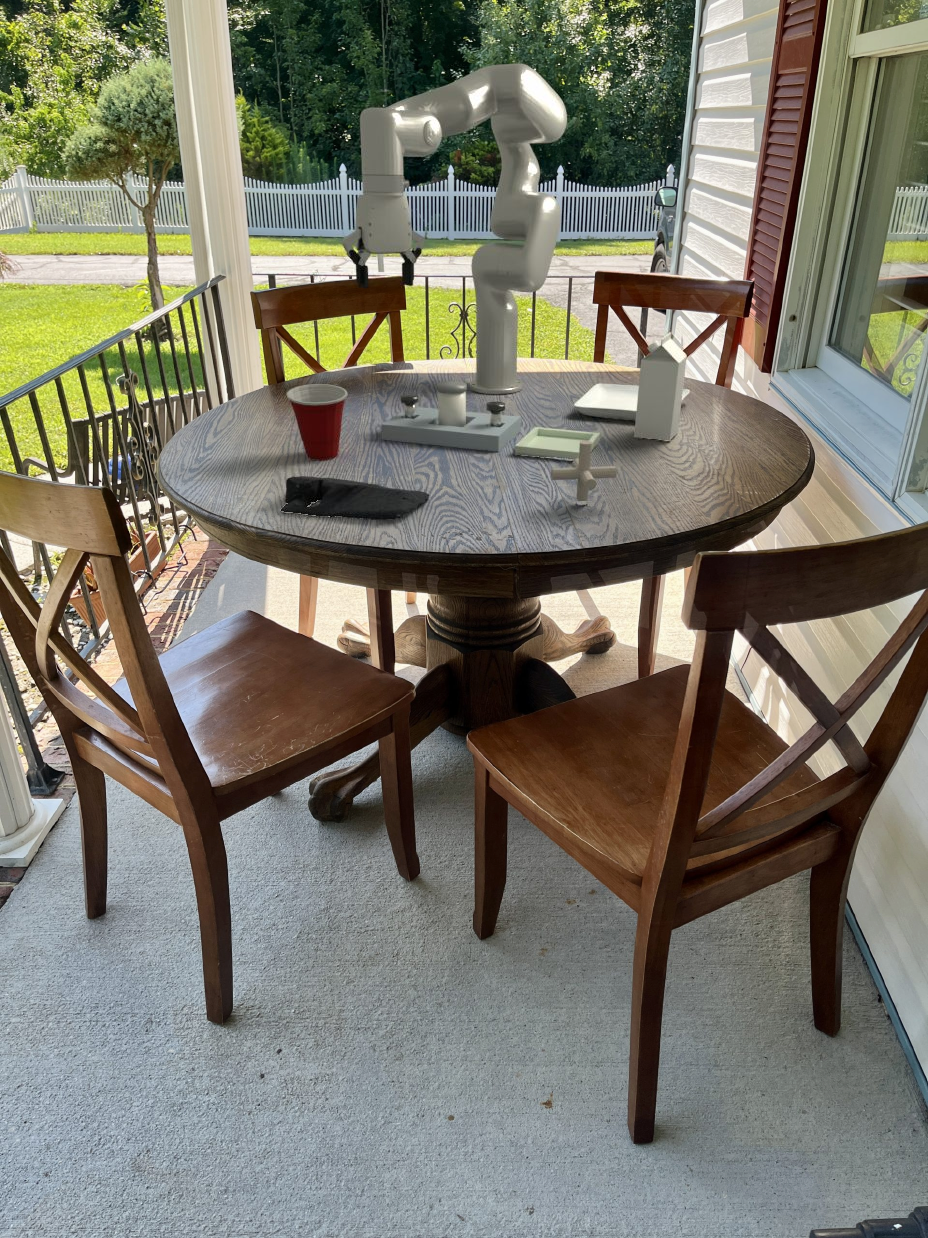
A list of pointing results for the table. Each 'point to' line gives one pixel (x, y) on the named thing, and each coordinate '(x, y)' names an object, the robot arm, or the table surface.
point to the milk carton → (660, 390)
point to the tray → (554, 443)
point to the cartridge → (452, 403)
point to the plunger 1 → (409, 405)
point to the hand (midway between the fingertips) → (385, 286)
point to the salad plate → (612, 401)
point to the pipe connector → (583, 472)
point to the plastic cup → (319, 418)
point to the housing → (452, 430)
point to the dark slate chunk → (349, 498)
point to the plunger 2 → (495, 412)
